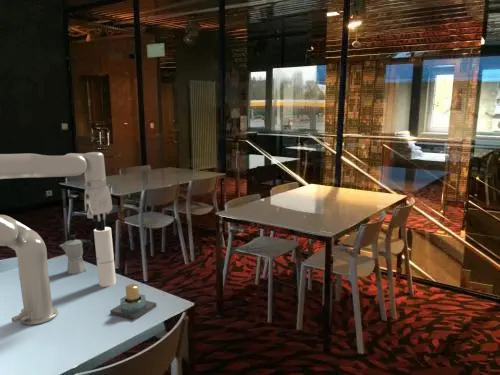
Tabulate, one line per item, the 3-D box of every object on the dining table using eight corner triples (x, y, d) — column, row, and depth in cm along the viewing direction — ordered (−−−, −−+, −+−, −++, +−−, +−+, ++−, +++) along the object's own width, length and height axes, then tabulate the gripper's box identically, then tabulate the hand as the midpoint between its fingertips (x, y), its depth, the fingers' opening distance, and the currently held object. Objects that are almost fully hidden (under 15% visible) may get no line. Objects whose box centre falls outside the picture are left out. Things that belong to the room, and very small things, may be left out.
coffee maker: (62, 276, 199) (57, 239, 196) (62, 270, 207) (58, 234, 204) (95, 271, 205) (92, 234, 202) (94, 265, 213) (91, 230, 210)
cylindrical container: (110, 279, 195) (105, 226, 190) (119, 282, 190) (114, 228, 186) (95, 284, 189) (90, 229, 185) (104, 288, 185) (99, 232, 180)
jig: (135, 320, 155) (134, 308, 155) (110, 313, 161) (109, 302, 160) (156, 306, 166) (155, 295, 165) (132, 300, 171) (132, 290, 170)
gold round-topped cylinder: (134, 310, 160) (132, 290, 159) (124, 307, 162) (122, 288, 161) (142, 305, 164) (140, 285, 163) (133, 302, 166) (131, 283, 165)
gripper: (87, 188, 157) (92, 236, 160) (117, 181, 170) (121, 226, 173) (73, 187, 160) (78, 234, 164) (103, 180, 173) (107, 224, 177)
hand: (100, 230), depth 168 cm, fingers closed
